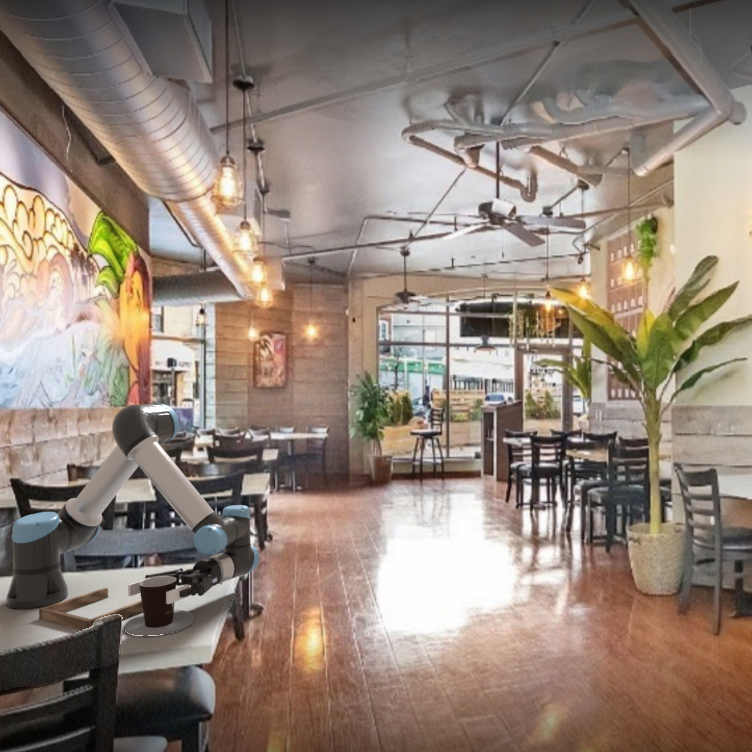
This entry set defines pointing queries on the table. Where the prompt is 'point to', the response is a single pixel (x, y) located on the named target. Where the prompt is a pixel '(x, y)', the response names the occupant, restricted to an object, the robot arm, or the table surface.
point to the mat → (179, 622)
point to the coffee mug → (157, 601)
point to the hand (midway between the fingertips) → (147, 594)
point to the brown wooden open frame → (57, 610)
